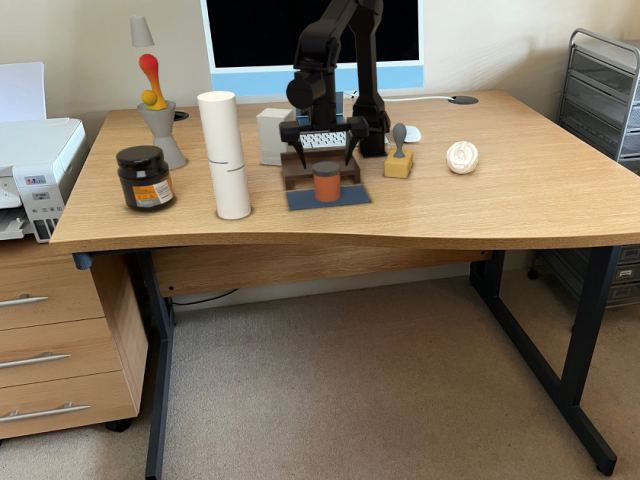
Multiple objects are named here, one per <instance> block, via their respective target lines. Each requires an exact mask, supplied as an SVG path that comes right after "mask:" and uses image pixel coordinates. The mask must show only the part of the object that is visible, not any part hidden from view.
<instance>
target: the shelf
mask: <svg viewBox="0 0 640 480" xmlns="http://www.w3.org/2000/svg"><path fill="white" fill-rule="evenodd" d="M303 151H304V156H305V161H306V169H304V167H303V165H302V162H301V160H300V157H299V155H298V153H297V152H284V153H280V158H281V167H280V168H281V174H282V178H283V183H284V188H285V190H286V191H290V190H291V191H292V190H293V189H294V187H293V181H299V180H309V179H313V172H312V166H313V165H314V164H316V163H319V162H335V163H337V164H339V165H340V177H345V176H350V178H351V180H352V183H353V184H354V185H356V184H361V181H362V179H361V177H362V176H361V175H362V174H361V168H360V165H359V164H358V162H357V160H356V158H355V156H354V152H353V153H352V156H351V158H350V161H349V163H348V166H346V165H345V147H336V148H323V149H311V150H303Z"/></svg>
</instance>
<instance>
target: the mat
mask: <svg viewBox="0 0 640 480" xmlns="http://www.w3.org/2000/svg"><path fill="white" fill-rule="evenodd" d="M340 188H341V197H340V198H339V199H338V200H336V201H332V202H322V201H318V200H316V199H315V196H314V189H303V190H294V191H286V197H287V202H288V206H289V210H290V211H299V210H307V209H308V210H309V209H319V208H329V207H340V206H350V205H359V204H360V205H361V204H370V203H371V200H370V198H369V195H368V193H367V192H366V189H365V187H364V186H363V184H361V185H349V186H340Z"/></svg>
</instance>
